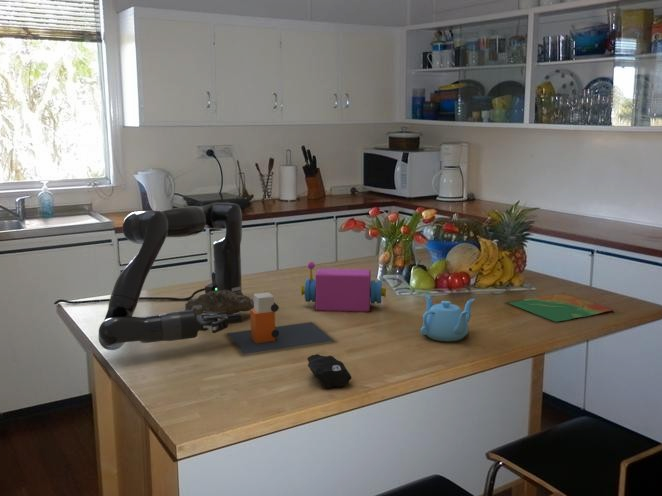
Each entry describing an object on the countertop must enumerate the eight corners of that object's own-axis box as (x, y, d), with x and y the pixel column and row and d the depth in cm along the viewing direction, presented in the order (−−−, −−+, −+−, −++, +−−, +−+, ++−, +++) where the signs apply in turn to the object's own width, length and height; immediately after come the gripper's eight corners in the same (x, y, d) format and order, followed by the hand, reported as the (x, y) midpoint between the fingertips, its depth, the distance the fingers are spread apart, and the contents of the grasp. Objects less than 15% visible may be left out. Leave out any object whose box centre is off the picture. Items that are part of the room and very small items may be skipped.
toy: (385, 304, 221) (386, 260, 218) (385, 312, 212) (385, 267, 210) (303, 302, 224) (303, 259, 221) (299, 310, 215) (299, 265, 212)
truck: (256, 343, 183) (255, 298, 181) (250, 337, 188) (249, 293, 185) (279, 340, 186) (278, 296, 183) (273, 334, 190) (272, 291, 188)
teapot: (414, 341, 186) (415, 306, 184) (424, 324, 200) (425, 292, 198) (467, 346, 182) (468, 311, 180) (473, 329, 196) (475, 296, 194)
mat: (243, 355, 175) (243, 353, 175) (227, 334, 192) (227, 333, 192) (334, 342, 185) (334, 340, 185) (311, 323, 202) (311, 322, 202)
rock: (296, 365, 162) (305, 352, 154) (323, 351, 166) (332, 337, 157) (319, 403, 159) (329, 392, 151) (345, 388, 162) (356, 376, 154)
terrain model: (563, 294, 233) (563, 292, 233) (614, 311, 213) (615, 309, 213) (507, 302, 223) (507, 301, 222) (555, 321, 203) (555, 319, 202)
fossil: (252, 297, 214) (254, 278, 201) (258, 325, 210) (260, 307, 197) (183, 310, 209) (180, 291, 196) (188, 338, 205) (186, 321, 192)
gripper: (181, 319, 169) (247, 311, 176) (172, 305, 181) (234, 298, 188) (182, 347, 171) (248, 338, 178) (174, 331, 183) (235, 323, 190)
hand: (241, 317), depth 183 cm, fingers closed
